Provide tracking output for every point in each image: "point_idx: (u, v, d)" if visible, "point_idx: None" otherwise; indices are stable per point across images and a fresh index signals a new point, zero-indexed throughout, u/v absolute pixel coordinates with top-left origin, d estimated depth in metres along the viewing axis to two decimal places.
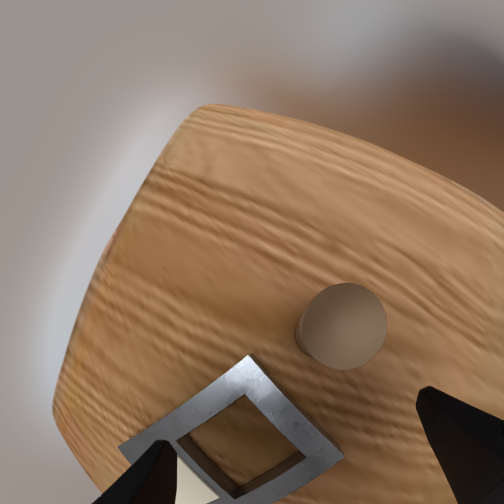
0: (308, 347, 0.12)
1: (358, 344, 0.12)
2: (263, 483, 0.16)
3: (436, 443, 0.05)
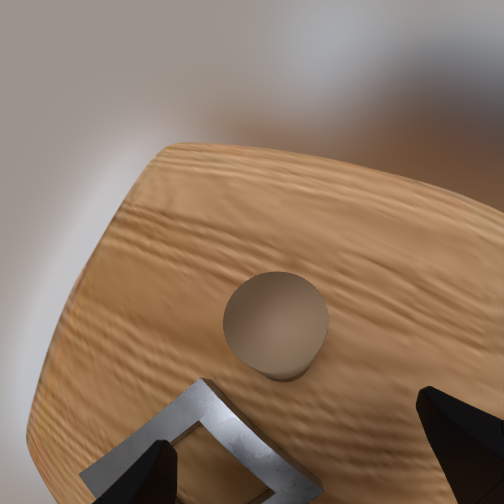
0: (230, 345, 0.11)
1: (291, 340, 0.10)
2: None
3: (436, 443, 0.05)
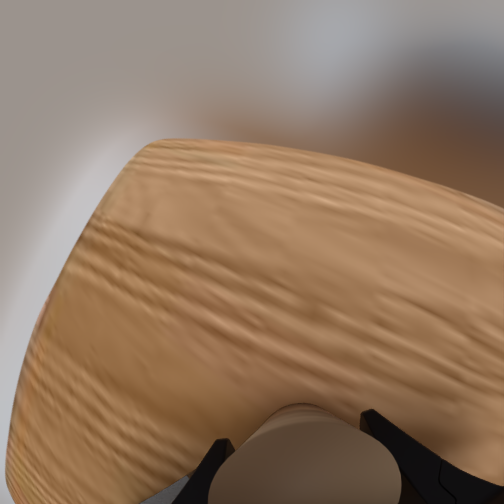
0: None
1: None
2: None
3: None
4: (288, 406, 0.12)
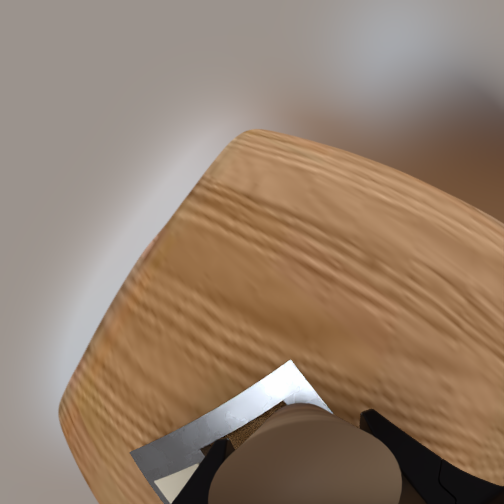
0: None
1: None
2: None
3: None
4: (288, 405, 0.12)
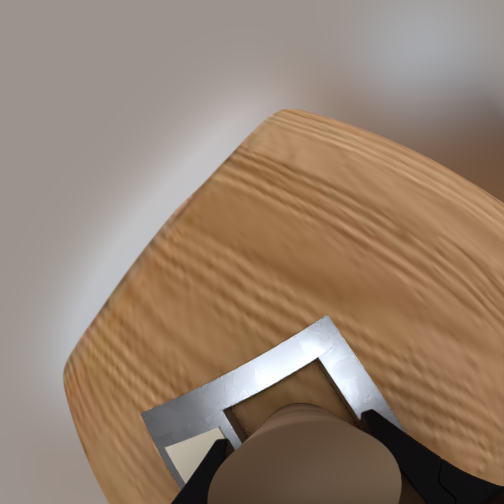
0: None
1: None
2: None
3: None
4: (288, 406, 0.12)
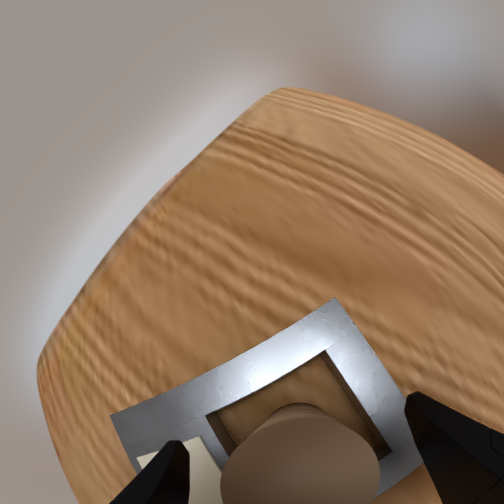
0: None
1: None
2: None
3: (424, 449, 0.05)
4: (287, 405, 0.14)
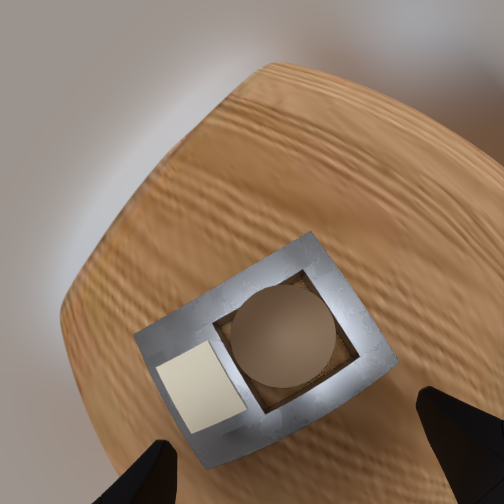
0: (238, 361, 0.11)
1: (299, 356, 0.10)
2: (305, 392, 0.17)
3: (436, 443, 0.05)
4: None
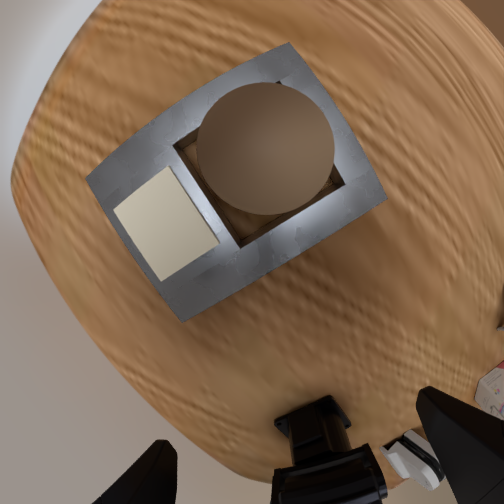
0: (209, 182, 0.08)
1: (288, 173, 0.08)
2: (283, 221, 0.17)
3: (436, 443, 0.05)
4: None
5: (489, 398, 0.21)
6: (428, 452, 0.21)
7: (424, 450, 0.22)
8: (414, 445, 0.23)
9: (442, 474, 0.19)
